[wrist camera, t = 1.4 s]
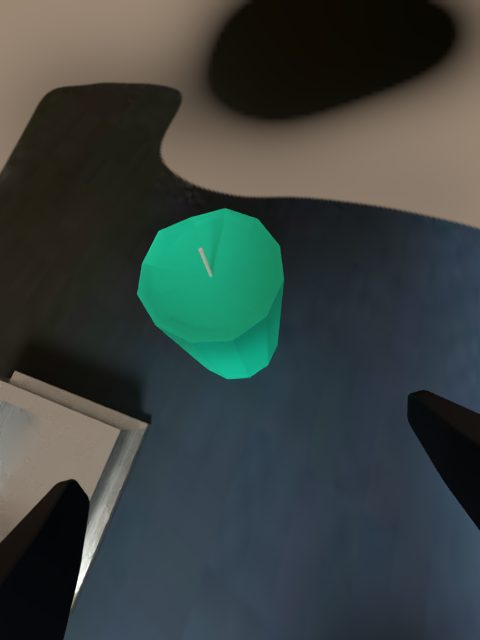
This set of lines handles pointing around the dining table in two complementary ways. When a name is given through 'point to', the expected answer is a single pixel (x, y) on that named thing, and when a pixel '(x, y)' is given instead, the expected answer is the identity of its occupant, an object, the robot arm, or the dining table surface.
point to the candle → (216, 290)
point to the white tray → (63, 455)
